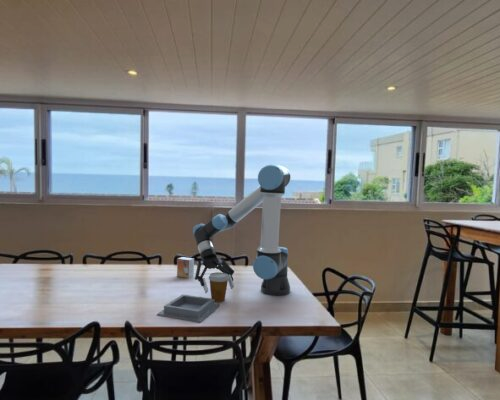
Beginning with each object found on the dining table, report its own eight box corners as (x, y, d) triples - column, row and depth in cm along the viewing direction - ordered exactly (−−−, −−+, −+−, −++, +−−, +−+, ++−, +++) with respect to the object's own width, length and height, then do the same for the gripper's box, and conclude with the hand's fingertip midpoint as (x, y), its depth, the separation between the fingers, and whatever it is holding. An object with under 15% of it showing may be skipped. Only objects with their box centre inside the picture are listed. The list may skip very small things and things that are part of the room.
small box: (176, 276, 206) (177, 258, 205) (182, 274, 211) (182, 256, 210) (188, 278, 203) (189, 260, 202) (193, 275, 208) (194, 258, 207)
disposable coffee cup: (231, 298, 172) (232, 273, 171) (221, 304, 163) (222, 278, 162) (214, 295, 176) (215, 271, 175) (204, 301, 167) (204, 275, 166)
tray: (220, 305, 161) (220, 298, 161) (200, 322, 142) (200, 314, 142) (180, 299, 168) (180, 292, 167) (157, 315, 149) (157, 306, 148)
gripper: (226, 253, 188) (240, 289, 176) (181, 258, 175) (192, 297, 163) (231, 245, 183) (245, 282, 171) (185, 249, 170) (197, 289, 158)
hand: (220, 289), depth 167 cm, fingers open, 13 cm apart
